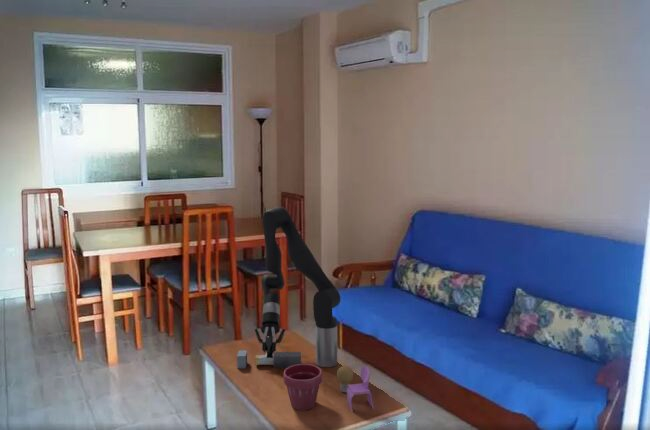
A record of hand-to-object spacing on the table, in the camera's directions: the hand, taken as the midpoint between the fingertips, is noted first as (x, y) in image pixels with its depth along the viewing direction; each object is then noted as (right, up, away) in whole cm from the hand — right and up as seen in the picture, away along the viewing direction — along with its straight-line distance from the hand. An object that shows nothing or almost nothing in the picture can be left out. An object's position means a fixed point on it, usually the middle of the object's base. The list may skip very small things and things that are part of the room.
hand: (268, 351), depth 235 cm
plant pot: (+16, -12, -30) cm, 36 cm away
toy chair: (+37, -12, -32) cm, 50 cm away
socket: (-12, -7, +3) cm, 14 cm away
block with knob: (+3, -6, +3) cm, 7 cm away
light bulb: (+32, -10, -20) cm, 39 cm away
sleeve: (+8, -7, +3) cm, 11 cm away
